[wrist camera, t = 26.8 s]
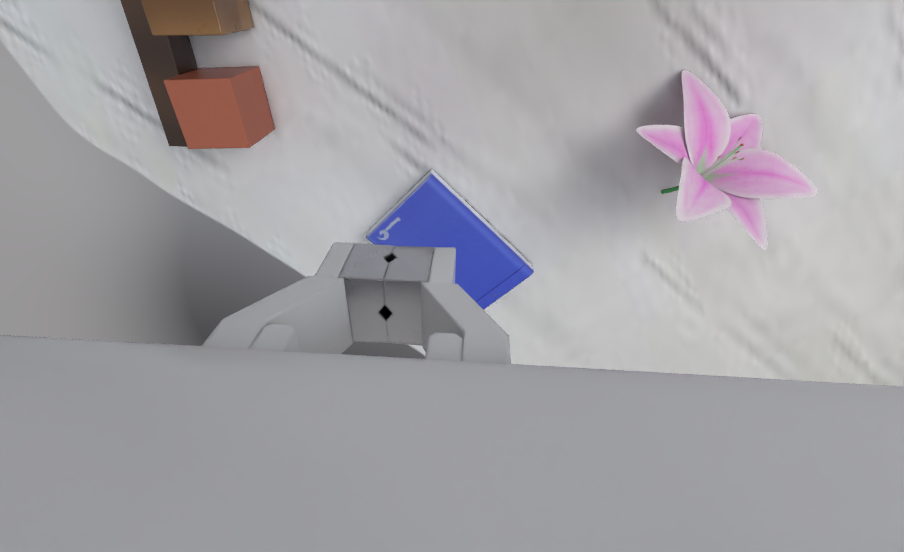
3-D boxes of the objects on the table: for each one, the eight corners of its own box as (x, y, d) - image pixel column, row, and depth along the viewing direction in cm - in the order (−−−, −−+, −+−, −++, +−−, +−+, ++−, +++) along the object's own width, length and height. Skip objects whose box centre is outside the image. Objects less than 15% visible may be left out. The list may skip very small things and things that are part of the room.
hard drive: (364, 239, 38) (466, 322, 43) (430, 175, 35) (534, 273, 39) (368, 230, 39) (467, 312, 44) (432, 167, 36) (532, 263, 40)
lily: (776, 182, 36) (897, 161, 26) (664, 282, 36) (744, 296, 27) (680, 67, 35) (769, 1, 26) (567, 170, 36) (613, 143, 26)
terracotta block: (199, 68, 33) (162, 80, 29) (259, 66, 32) (229, 78, 29) (219, 130, 35) (188, 149, 32) (275, 129, 35) (250, 147, 31)
